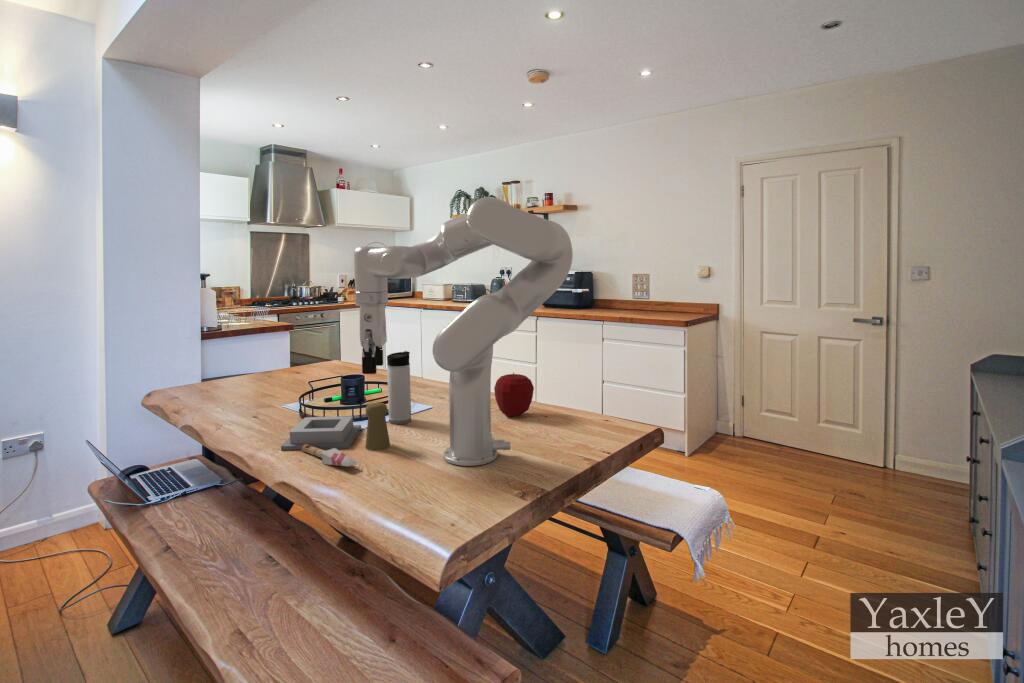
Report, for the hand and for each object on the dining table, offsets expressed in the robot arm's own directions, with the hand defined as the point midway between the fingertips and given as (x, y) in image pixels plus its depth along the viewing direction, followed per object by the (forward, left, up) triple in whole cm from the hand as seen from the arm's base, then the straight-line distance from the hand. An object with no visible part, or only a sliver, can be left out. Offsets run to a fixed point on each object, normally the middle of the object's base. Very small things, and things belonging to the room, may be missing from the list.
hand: (373, 369), depth 130 cm
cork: (0, 0, -20) cm, 20 cm away
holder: (+15, -7, -20) cm, 25 cm away
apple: (-36, -24, -20) cm, 48 cm away
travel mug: (-3, -21, -20) cm, 29 cm away
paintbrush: (+9, +9, -20) cm, 24 cm away
